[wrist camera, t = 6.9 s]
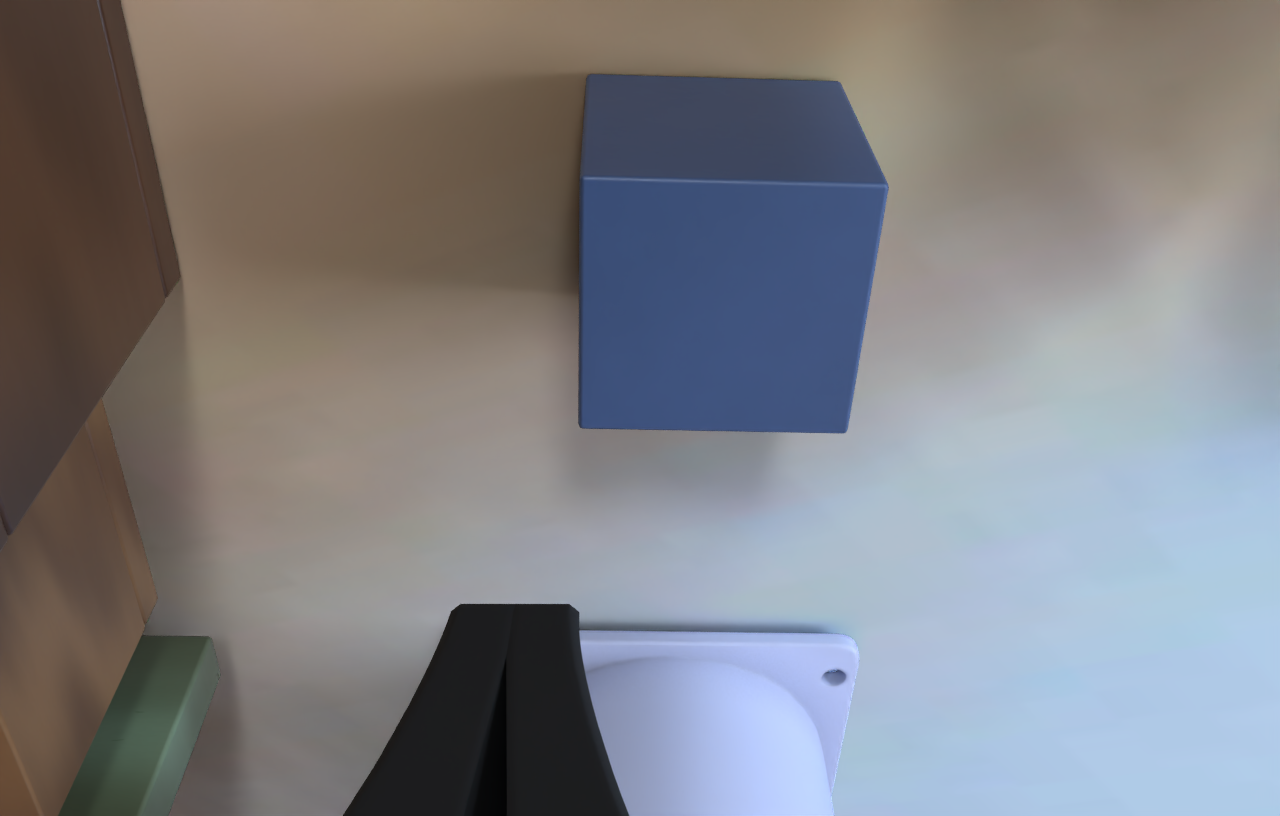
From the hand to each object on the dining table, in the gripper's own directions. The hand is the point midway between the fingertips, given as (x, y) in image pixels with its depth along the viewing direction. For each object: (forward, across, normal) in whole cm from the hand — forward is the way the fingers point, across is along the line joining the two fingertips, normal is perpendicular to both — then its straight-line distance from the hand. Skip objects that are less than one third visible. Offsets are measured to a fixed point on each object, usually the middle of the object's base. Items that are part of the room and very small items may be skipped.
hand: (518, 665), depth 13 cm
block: (+9, -3, -2) cm, 9 cm away
